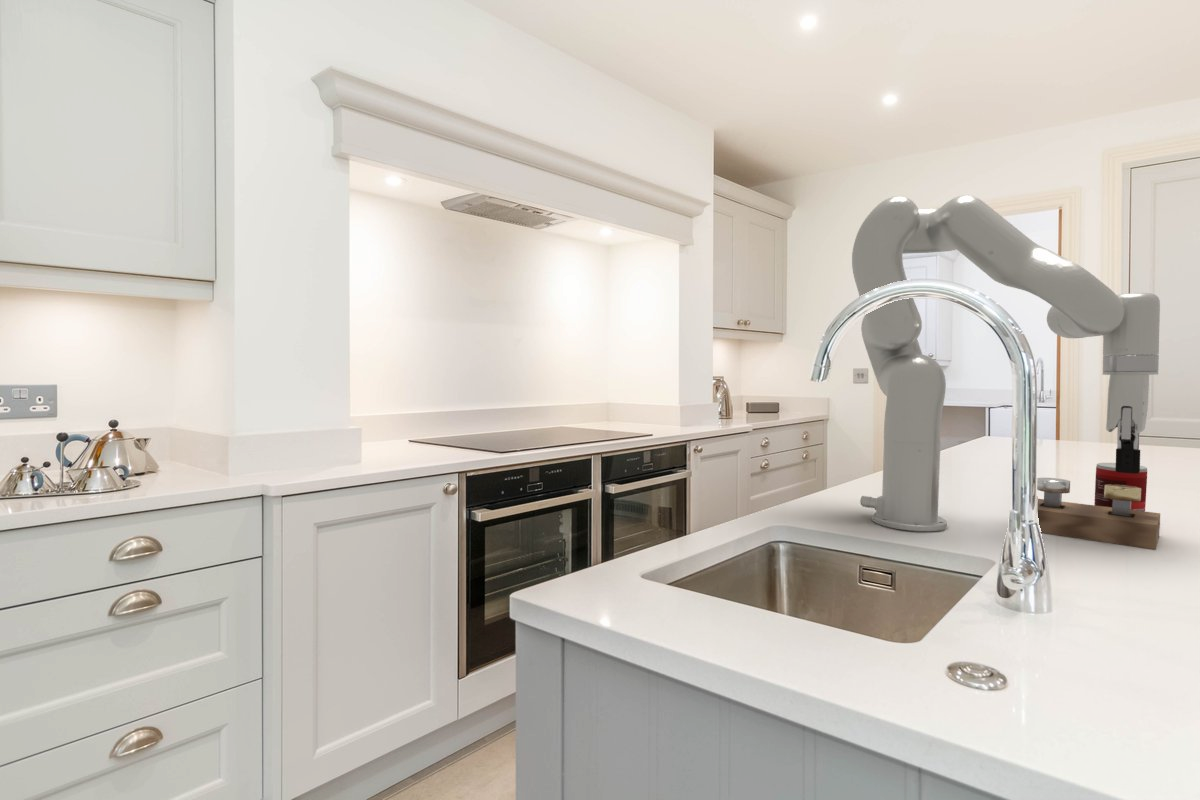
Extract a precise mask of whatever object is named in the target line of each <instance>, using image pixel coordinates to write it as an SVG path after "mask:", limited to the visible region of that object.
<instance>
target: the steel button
mask: <svg viewBox="0 0 1200 800" xmlns="http://www.w3.org/2000/svg"><path fill="white" fill-rule="evenodd" d="M1036 490H1037V491H1040V492H1043V499H1044V507H1052V508H1060V509H1061V503H1062V502H1063V501H1062V500H1063V498H1062V496H1063V494H1070V492H1071V481H1070V480H1068V479H1064V478H1063V479H1062V478H1057V477H1038V478H1037V480H1036Z"/></svg>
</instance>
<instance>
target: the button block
mask: <svg viewBox="0 0 1200 800" xmlns="http://www.w3.org/2000/svg"><path fill="white" fill-rule="evenodd" d="M1037 499H1038V518H1039V525H1040V528H1041V531H1042V534H1049V535H1055V536H1062V537H1068V538H1075V539H1080V540H1081V539H1083V540H1089V541H1095V542H1102V543H1109V544H1117V545H1122V546H1123V545H1124V546H1129V547H1136V548H1141V549H1142V548H1143V549H1150V550H1156V549H1157V546H1158V542H1159V538H1160V528H1161V527H1160V526H1161V513H1160V512H1153V511H1146V510H1145V511H1137V510H1131V517H1124V516H1116V515H1112V507H1103V506H1095V505H1094V504H1087V503H1085V504H1084V503H1079V502H1078V503H1076V502H1070V501H1069V502H1068V501H1062V503H1061V509H1060V508H1052V507H1044V498H1037Z"/></svg>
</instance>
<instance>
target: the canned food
mask: <svg viewBox="0 0 1200 800" xmlns="http://www.w3.org/2000/svg"><path fill="white" fill-rule="evenodd" d="M1094 483H1095V484H1094V485H1095V486H1094V503H1093V505H1095V506H1103V507H1112V504H1113V499H1109V498H1105V497H1104V489H1105V485H1108V484H1115V485H1127V486H1134V487H1139V488H1141V501H1131V510H1137V511H1145V512H1146V504H1147V503H1146V501H1147V486H1148V485H1147V484H1148V467H1147V466H1143V465H1140V472H1139V473H1138V474H1133V473H1120V472H1116V462H1098V463H1096V467H1095V482H1094Z"/></svg>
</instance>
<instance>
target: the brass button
mask: <svg viewBox="0 0 1200 800" xmlns="http://www.w3.org/2000/svg"><path fill="white" fill-rule="evenodd" d="M1104 497H1105V498H1109V499H1113V504H1112V515H1116V516H1124V517H1131V501H1141V488H1139V487H1134V486H1127V485H1115V484H1108V485H1105V489H1104Z"/></svg>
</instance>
